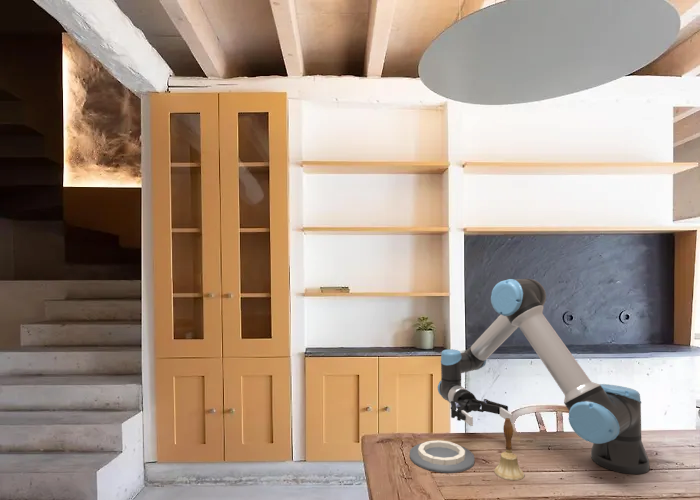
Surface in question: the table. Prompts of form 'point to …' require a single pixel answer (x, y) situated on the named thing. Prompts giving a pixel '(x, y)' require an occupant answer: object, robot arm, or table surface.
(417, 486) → the table surface
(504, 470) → the hand bell
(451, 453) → the ring tray
